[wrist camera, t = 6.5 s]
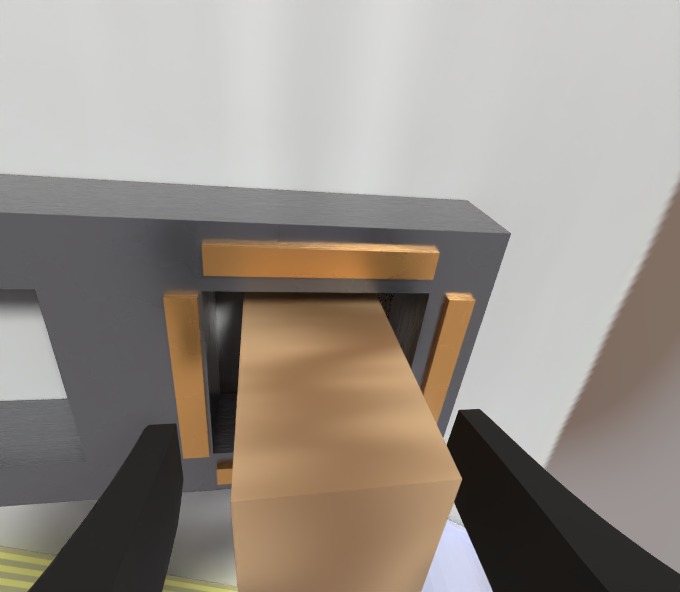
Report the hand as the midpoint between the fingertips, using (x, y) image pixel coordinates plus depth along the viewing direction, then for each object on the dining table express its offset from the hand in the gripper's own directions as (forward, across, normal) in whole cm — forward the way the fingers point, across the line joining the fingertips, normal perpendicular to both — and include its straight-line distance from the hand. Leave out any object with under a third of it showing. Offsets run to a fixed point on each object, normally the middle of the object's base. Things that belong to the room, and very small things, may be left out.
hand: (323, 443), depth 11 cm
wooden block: (+5, 0, 0) cm, 5 cm away
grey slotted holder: (+5, +5, 0) cm, 7 cm away
